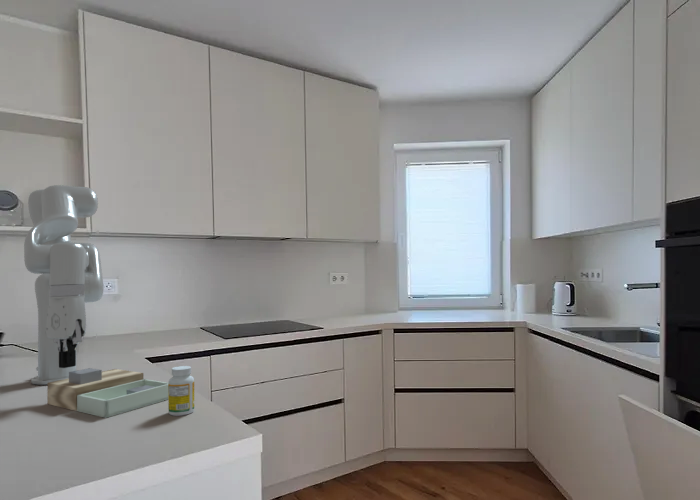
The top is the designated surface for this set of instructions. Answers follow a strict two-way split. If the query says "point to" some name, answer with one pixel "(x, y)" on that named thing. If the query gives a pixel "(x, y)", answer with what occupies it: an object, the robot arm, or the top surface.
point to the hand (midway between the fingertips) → (67, 366)
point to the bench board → (87, 387)
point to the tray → (121, 398)
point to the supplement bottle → (181, 391)
